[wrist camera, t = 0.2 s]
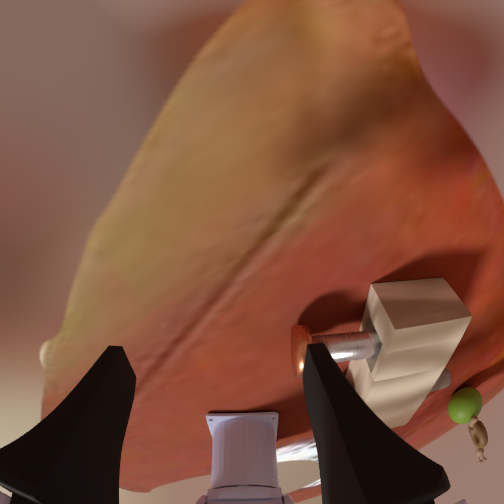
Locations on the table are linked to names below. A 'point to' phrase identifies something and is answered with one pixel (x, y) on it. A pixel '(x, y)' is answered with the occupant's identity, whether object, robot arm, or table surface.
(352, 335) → the lynch pin
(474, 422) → the snail figurine
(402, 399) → the beige block with pegs
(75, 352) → the table surface
